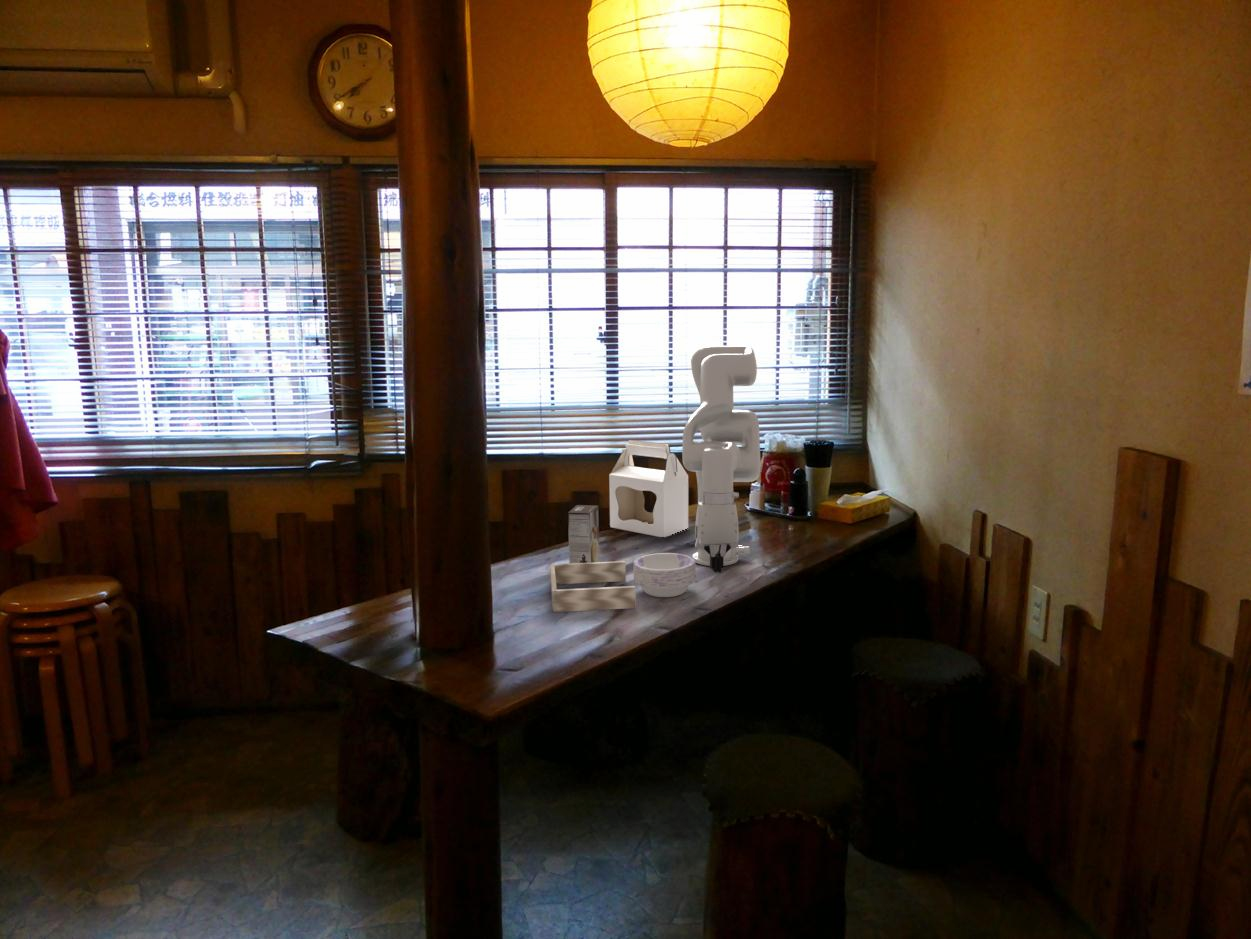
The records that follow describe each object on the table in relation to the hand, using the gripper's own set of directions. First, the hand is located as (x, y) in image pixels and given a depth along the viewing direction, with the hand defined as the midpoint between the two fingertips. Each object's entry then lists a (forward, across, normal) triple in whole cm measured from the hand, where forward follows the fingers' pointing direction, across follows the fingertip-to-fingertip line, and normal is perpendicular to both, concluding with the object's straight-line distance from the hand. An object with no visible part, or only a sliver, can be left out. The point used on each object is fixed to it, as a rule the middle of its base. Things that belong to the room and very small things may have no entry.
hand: (716, 570), depth 198 cm
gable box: (+5, +8, -62) cm, 63 cm away
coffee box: (+5, +31, -24) cm, 39 cm away
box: (+5, +30, 0) cm, 31 cm away
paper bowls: (+5, +13, 0) cm, 14 cm away
